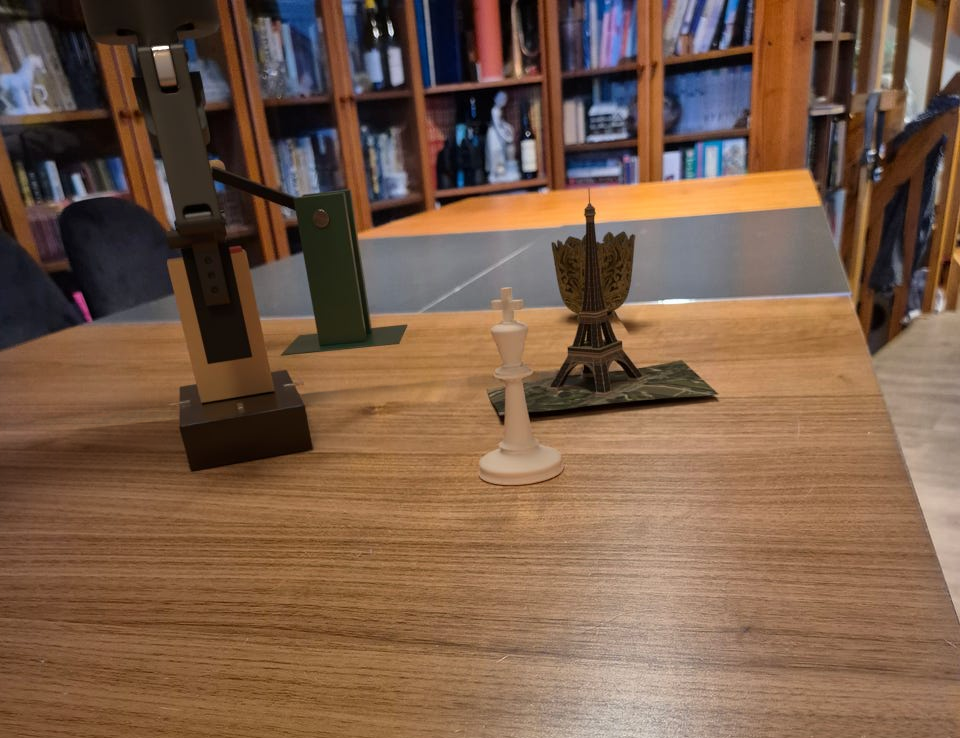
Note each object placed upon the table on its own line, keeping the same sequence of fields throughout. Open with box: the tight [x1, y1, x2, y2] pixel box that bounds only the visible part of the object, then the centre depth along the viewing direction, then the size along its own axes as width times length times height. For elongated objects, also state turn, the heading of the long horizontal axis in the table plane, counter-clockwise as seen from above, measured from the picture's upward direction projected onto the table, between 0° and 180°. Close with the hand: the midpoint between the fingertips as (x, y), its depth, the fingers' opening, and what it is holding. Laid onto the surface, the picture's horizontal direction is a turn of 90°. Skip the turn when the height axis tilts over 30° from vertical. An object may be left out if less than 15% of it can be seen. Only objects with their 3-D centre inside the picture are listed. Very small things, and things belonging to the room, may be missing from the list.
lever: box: [209, 159, 296, 212], centre depth 83 cm, size 13×8×2 cm, turn 89°
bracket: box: [280, 188, 408, 357], centre depth 86 cm, size 11×9×14 cm
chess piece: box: [478, 286, 565, 486], centre depth 51 cm, size 5×5×10 cm
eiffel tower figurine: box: [486, 187, 720, 416], centre depth 63 cm, size 15×10×13 cm
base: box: [168, 369, 314, 472], centre depth 65 cm, size 12×9×3 cm
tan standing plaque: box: [166, 245, 274, 403], centre depth 62 cm, size 5×2×9 cm, turn 106°
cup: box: [551, 230, 636, 322], centre depth 85 cm, size 8×7×8 cm
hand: (225, 342), depth 63 cm, fingers open, 13 cm apart
